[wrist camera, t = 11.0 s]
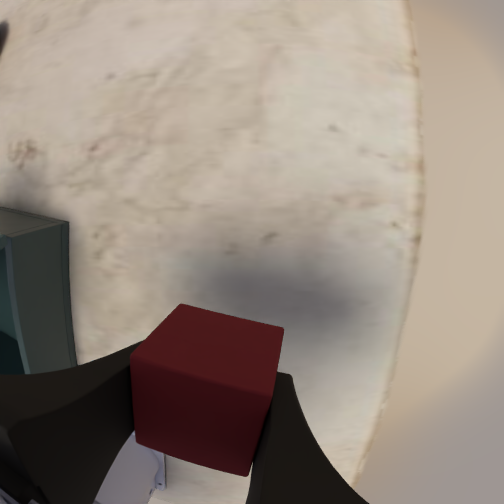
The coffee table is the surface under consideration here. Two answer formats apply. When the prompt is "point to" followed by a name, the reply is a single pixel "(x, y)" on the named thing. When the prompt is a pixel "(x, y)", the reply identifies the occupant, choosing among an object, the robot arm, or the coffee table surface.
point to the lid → (3, 241)
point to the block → (205, 387)
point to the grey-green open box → (34, 295)
